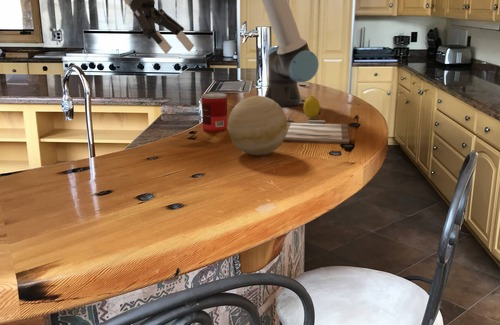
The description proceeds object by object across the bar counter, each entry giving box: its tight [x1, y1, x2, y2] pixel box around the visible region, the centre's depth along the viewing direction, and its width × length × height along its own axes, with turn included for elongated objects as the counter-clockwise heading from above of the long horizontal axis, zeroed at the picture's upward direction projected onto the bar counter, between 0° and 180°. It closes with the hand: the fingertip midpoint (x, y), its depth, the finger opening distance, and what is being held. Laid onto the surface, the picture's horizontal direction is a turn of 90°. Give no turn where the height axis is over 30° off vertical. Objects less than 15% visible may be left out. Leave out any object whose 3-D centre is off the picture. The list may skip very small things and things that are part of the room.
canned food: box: [201, 92, 228, 133], centre depth 162 cm, size 8×8×11 cm
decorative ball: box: [227, 95, 288, 156], centre depth 132 cm, size 15×15×15 cm
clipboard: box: [282, 119, 350, 145], centre depth 159 cm, size 26×20×2 cm
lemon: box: [303, 95, 321, 120], centre depth 180 cm, size 6×6×8 cm
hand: (180, 49), depth 164 cm, fingers open, 13 cm apart
